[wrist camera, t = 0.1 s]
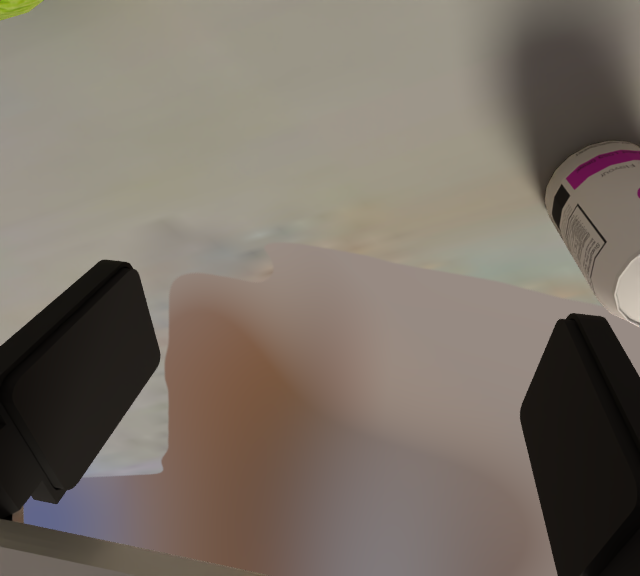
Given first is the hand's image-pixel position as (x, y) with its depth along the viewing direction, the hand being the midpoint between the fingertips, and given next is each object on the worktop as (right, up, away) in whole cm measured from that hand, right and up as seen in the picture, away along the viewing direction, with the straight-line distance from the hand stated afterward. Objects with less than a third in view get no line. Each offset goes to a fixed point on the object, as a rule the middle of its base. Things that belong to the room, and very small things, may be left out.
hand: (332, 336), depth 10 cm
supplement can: (+23, +10, +27) cm, 37 cm away
